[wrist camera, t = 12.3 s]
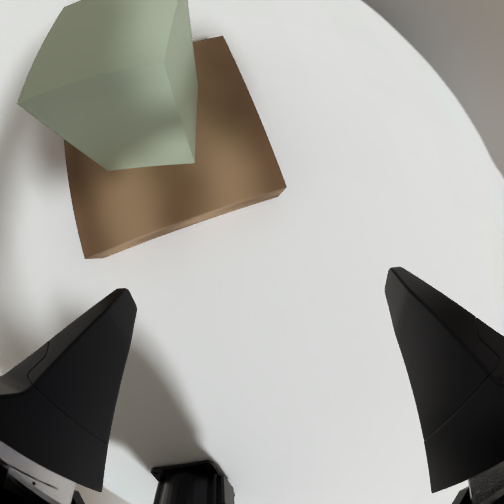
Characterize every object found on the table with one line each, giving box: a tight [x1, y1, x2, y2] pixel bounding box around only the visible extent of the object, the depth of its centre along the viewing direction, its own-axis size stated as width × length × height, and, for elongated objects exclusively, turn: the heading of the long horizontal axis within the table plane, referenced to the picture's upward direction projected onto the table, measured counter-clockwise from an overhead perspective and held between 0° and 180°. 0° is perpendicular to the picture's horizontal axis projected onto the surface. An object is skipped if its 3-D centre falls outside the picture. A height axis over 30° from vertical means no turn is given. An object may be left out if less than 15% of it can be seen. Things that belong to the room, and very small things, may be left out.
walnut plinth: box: [64, 36, 286, 259], centre depth 17 cm, size 14×14×3 cm
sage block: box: [17, 0, 198, 171], centre depth 11 cm, size 6×6×10 cm
